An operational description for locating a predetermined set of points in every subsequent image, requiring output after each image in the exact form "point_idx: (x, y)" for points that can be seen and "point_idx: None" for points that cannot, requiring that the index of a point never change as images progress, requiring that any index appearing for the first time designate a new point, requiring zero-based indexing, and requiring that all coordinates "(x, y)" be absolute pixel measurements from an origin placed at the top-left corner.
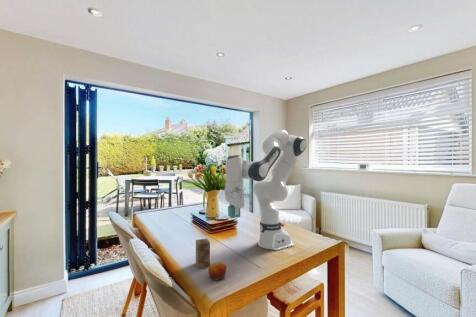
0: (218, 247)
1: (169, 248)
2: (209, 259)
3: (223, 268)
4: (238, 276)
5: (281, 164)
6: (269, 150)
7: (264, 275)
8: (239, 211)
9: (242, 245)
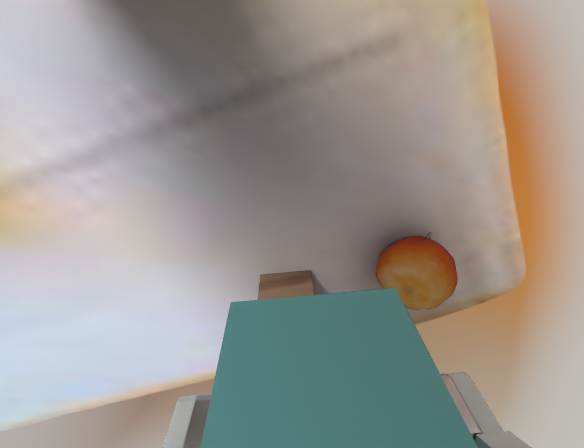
0: (99, 208)
1: (110, 389)
2: (313, 291)
3: (454, 263)
4: (433, 177)
5: None
6: None
7: (484, 48)
8: (435, 384)
9: (61, 47)
